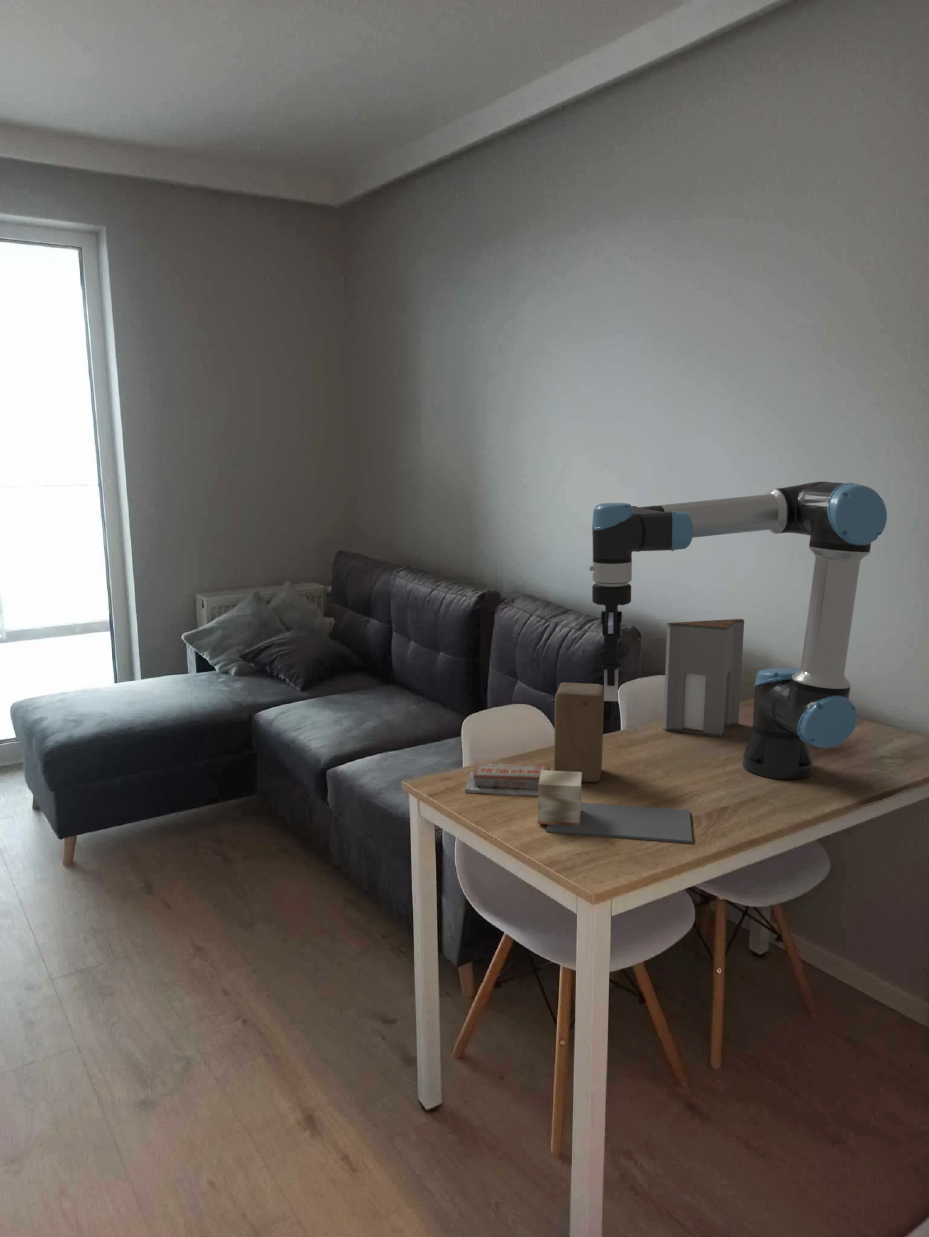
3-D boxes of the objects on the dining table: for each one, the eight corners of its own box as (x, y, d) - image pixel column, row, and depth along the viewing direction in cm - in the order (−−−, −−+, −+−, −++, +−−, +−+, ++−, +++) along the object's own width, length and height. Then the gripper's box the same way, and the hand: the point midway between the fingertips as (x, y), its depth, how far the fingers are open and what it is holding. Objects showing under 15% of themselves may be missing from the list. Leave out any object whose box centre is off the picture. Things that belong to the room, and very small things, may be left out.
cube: (541, 770, 188) (540, 808, 189) (538, 784, 180) (537, 823, 182) (581, 772, 187) (580, 810, 188) (580, 786, 179) (579, 826, 180)
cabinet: (735, 723, 248) (740, 618, 243) (755, 734, 239) (762, 625, 234) (662, 729, 243) (667, 622, 237) (681, 741, 234) (686, 630, 228)
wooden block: (599, 784, 204) (601, 694, 200) (553, 781, 206) (554, 692, 202) (602, 768, 214) (604, 683, 210) (557, 765, 216) (559, 681, 212)
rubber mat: (689, 812, 188) (689, 810, 188) (692, 843, 174) (692, 840, 174) (554, 802, 194) (554, 800, 193) (546, 831, 179) (546, 829, 179)
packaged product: (551, 761, 206) (549, 777, 196) (551, 782, 207) (549, 799, 197) (469, 757, 208) (463, 773, 198) (469, 778, 209) (463, 794, 199)
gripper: (593, 578, 191) (593, 690, 195) (590, 588, 178) (590, 708, 183) (631, 578, 189) (630, 691, 194) (631, 588, 177) (629, 709, 181)
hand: (610, 699), depth 188 cm, fingers closed
